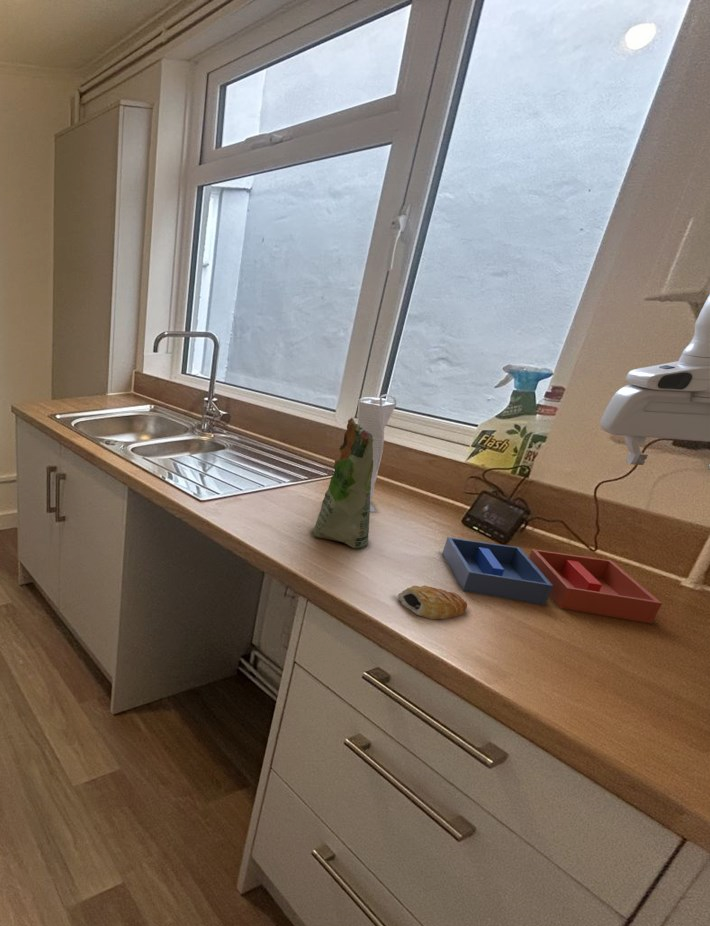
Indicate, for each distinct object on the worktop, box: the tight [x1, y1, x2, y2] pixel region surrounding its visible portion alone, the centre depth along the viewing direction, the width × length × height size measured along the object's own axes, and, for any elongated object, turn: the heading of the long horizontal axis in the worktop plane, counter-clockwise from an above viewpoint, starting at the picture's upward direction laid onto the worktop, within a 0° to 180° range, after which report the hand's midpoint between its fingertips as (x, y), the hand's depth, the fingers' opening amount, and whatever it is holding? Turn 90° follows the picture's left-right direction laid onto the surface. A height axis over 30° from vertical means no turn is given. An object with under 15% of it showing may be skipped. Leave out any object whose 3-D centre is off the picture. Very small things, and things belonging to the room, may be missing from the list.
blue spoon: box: [474, 547, 504, 576], centre depth 95 cm, size 4×13×3 cm, turn 155°
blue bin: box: [441, 536, 553, 606], centre depth 95 cm, size 11×15×4 cm
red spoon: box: [561, 560, 602, 592], centre depth 90 cm, size 4×13×3 cm, turn 155°
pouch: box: [312, 417, 374, 550], centre depth 107 cm, size 11×12×25 cm
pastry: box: [397, 585, 468, 620], centre depth 86 cm, size 9×7×4 cm
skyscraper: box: [357, 393, 397, 513], centre depth 122 cm, size 8×8×28 cm
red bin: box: [528, 548, 663, 624], centre depth 90 cm, size 11×15×4 cm
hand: (674, 467), depth 82 cm, fingers open, 8 cm apart
